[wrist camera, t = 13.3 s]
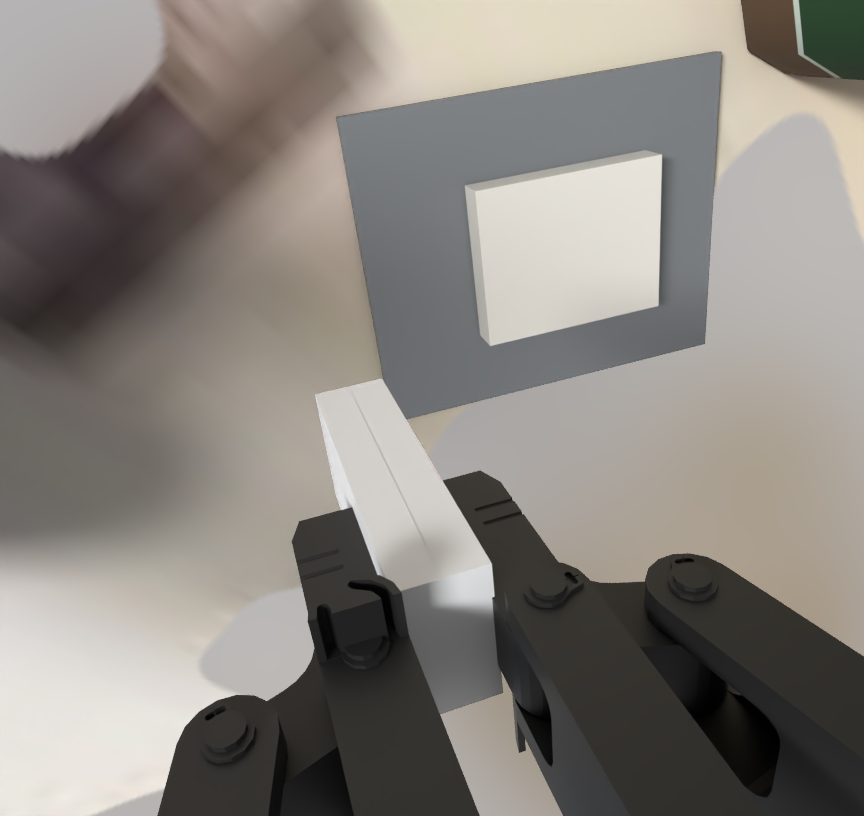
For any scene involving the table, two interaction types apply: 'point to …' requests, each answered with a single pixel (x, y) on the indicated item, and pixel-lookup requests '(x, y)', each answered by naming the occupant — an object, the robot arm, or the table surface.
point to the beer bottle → (807, 36)
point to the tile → (565, 245)
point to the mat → (508, 156)
